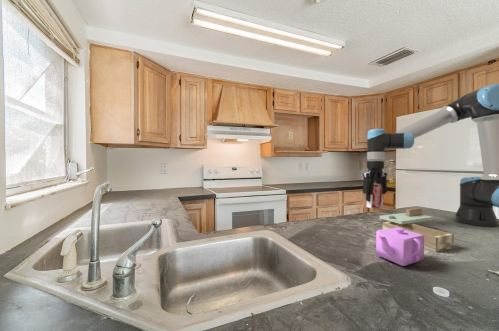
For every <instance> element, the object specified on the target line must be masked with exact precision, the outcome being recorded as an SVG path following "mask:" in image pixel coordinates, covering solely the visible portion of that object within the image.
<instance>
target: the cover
mask: <svg viewBox="0 0 499 331" xmlns="http://www.w3.org/2000/svg"><path fill="white" fill-rule="evenodd" d="M422 213H423V211H422V208H421V207H414V208H406V209H405V212H400V213H393V214H383V215H382V214H381V215H380V216H379V219H380V220H385V221H387V222H390V221H391V222H395V223H399V224H407V223H411V224H415V223H420V222H427V221H432V220H434V216H430V215H425V214H422Z"/></svg>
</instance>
